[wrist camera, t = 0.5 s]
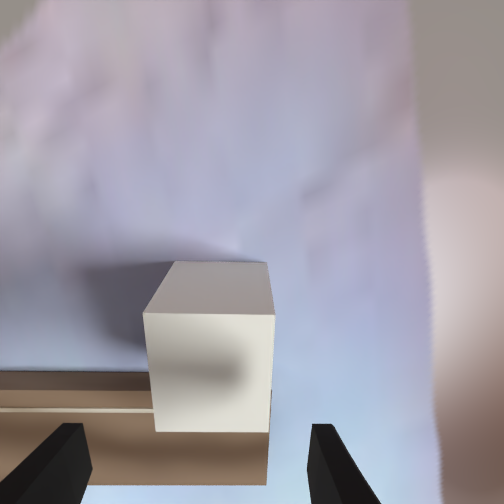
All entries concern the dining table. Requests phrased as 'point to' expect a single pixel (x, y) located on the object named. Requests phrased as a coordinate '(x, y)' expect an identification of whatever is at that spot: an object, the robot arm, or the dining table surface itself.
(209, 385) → the block
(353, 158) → the dining table surface
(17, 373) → the walnut board
